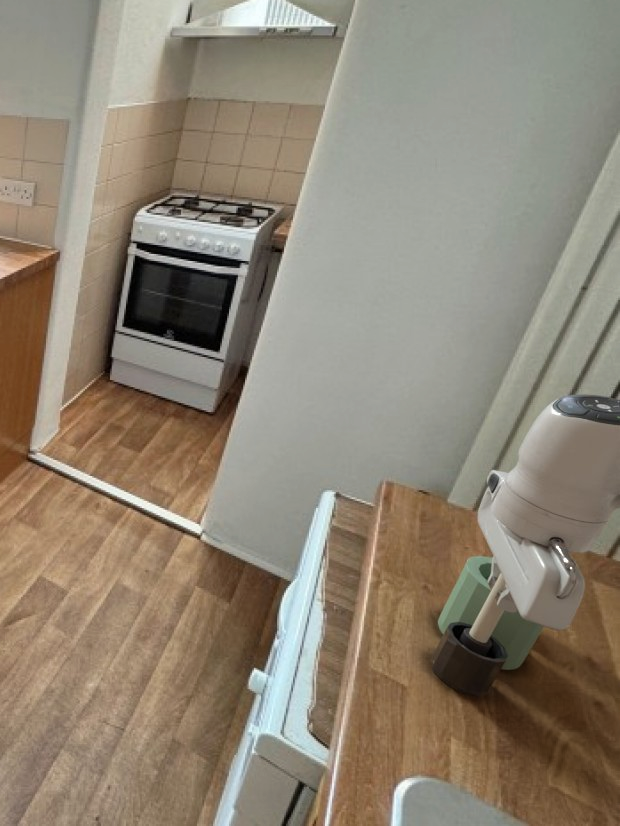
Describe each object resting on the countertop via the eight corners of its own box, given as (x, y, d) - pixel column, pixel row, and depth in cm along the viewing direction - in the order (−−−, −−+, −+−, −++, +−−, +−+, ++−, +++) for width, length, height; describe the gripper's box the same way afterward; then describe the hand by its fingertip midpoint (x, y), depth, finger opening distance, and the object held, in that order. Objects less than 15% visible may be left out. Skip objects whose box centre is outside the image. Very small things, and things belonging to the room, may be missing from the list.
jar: (510, 632, 91) (543, 573, 87) (531, 681, 84) (568, 620, 79) (431, 604, 96) (459, 547, 91) (445, 649, 88) (476, 589, 84)
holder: (480, 669, 86) (499, 634, 83) (493, 706, 81) (514, 670, 78) (426, 648, 89) (443, 614, 86) (435, 683, 84) (453, 647, 81)
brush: (474, 659, 84) (524, 568, 78) (480, 675, 82) (532, 583, 76) (448, 649, 85) (495, 559, 79) (453, 665, 83) (502, 573, 77)
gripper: (621, 585, 64) (565, 674, 69) (549, 479, 80) (508, 557, 85) (539, 560, 67) (491, 647, 72) (486, 463, 83) (450, 539, 89)
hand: (500, 598), depth 79 cm, fingers closed on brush, 2 cm apart
